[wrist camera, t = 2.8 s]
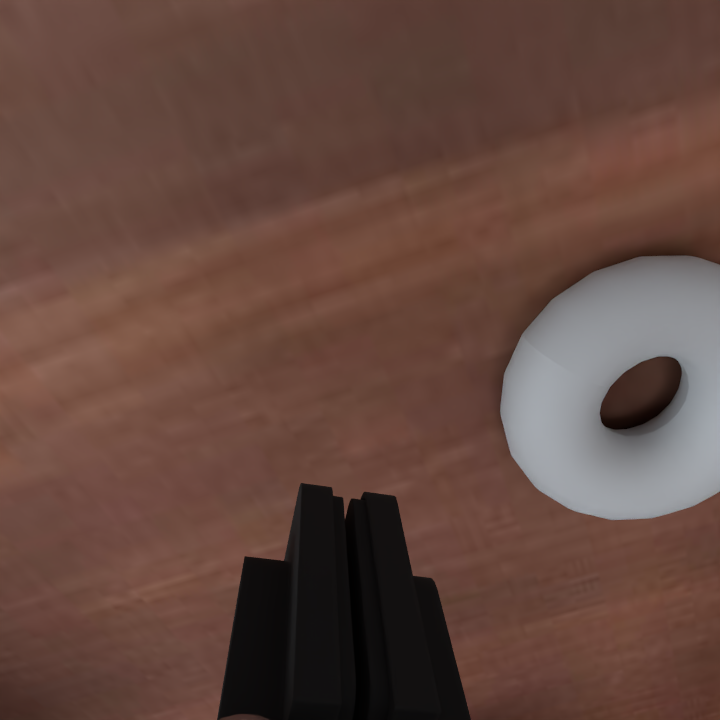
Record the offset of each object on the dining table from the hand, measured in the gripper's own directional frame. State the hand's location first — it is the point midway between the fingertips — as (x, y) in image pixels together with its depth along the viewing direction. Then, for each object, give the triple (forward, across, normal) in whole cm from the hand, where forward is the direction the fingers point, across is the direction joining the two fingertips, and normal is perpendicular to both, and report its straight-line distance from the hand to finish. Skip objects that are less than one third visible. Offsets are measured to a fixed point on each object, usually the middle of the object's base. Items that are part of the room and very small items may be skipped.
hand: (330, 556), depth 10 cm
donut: (+11, -11, -1) cm, 16 cm away
